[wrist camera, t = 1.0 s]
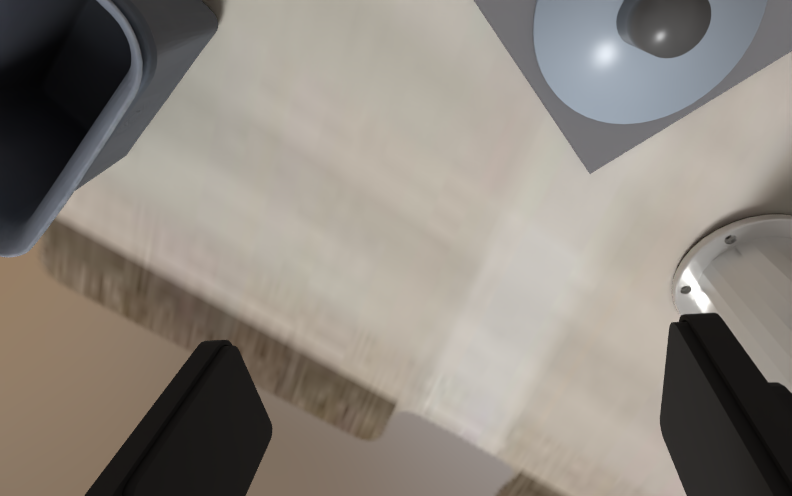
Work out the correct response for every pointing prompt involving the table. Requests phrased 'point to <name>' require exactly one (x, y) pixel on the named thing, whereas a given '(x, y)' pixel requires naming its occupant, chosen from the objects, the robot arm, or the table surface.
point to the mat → (603, 142)
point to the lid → (639, 52)
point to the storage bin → (81, 95)
